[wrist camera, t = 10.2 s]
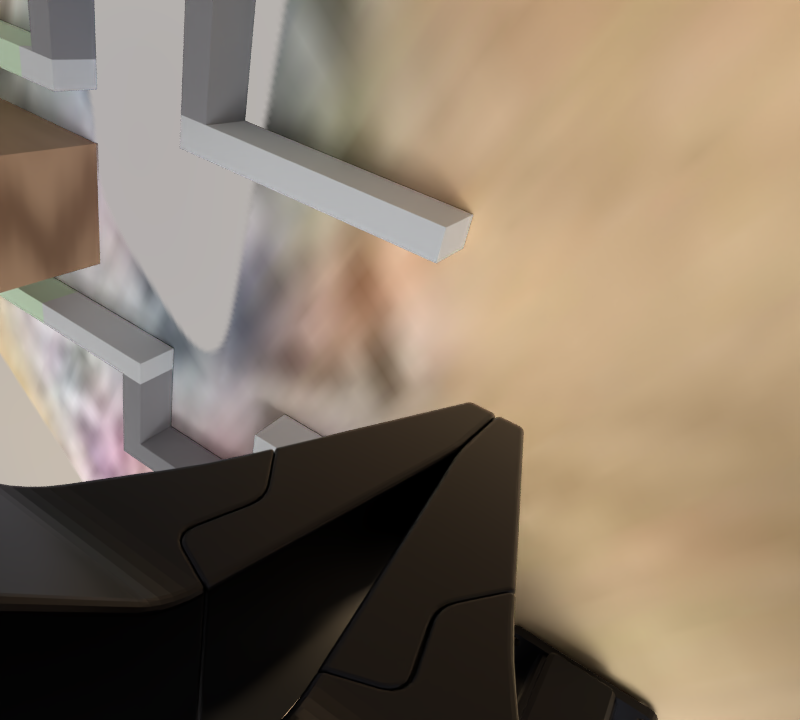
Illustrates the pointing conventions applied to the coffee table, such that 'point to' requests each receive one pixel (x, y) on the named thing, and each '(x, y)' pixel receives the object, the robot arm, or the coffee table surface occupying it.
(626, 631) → the coffee table surface
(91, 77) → the lane
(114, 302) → the coffee table surface
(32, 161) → the walnut block
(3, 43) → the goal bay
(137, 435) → the trap pockets
